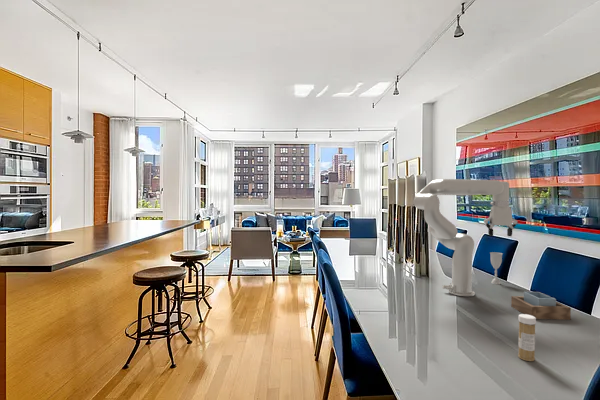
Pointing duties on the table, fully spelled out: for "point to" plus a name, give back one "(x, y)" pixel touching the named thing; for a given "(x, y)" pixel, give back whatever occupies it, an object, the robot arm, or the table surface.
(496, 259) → the chalice
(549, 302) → the block
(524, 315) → the pill bottle
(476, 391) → the table surface
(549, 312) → the walnut crate
